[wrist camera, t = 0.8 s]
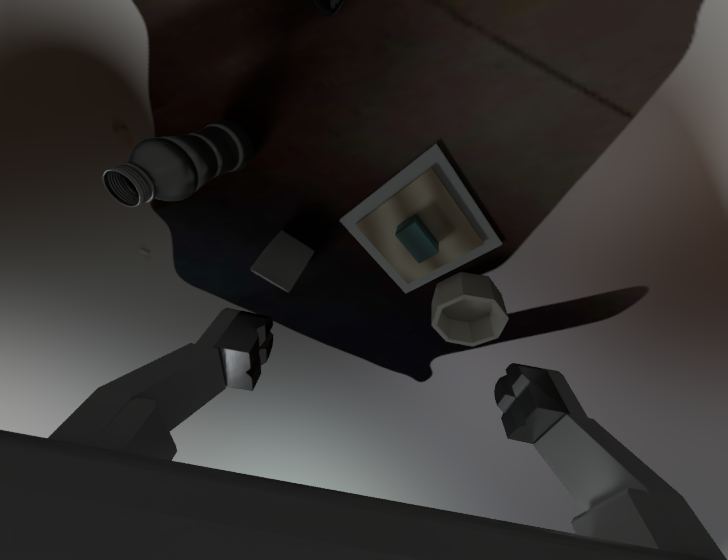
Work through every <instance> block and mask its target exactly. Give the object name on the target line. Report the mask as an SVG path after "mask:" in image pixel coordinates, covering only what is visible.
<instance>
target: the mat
mask: <svg viewBox="0 0 728 560" xmlns="http://www.w3.org/2000/svg"><path fill="white" fill-rule="evenodd" d="M430 167H432V168H433V169H434V171H435V172H436V174H437V175H438V177H439V178H440V179H441V181H442V182H443V184H444V185H445V187H446V188H447V190H448V191H449V193H450V194H451V195H452V197H453V198H454V200H455V201H456V203H457V204H458V206H459V207H460V208H461V210H462V211H463V213H464V214H465V216H466V217H467V219H468V220H469V222H470V223H471V224H472V226H473V227H474V229H475V230H476V232H477V233H478V235H479V236H480V237H481V239H482V240H483V242H484V244H483V245H481V246H480V247H478V248H476V249H474V250H472V251H470V252H468V253H466V254H464V255H462V256H461V257H459V258H457V259H455V260H453V261H451V262H449V263H447V264H445V265H443V266H441V267H440V268H438V269H436V270H434V271H432V272H430V273H428V274H426V275H424V276H422V277H421V278H419V279H417V280H415V281H413V282H411V283H409V284H407V283H406V282H405V280H404V279H403V278H402V277H401V276H400V275H399V274H398V273H397V271H396V270H395V269H394V268H393V267H392V266H391V265H390V264H389V262H388V261H387V260H386V259H385V258H384V257H383V256H382V255H381V253H380V252H379V251H378V250H377V249H376V248H375V247H374V246H373V245H372V243H371V242H370V241H369V240H368V239H367V238H366V237H365V236H364V234H363V233H362V232H361V231H360V230H359V229H358V228H357V227H356V223H357V222H358V221H360V220H361V219H362V218H364V217H365V216H366V215H368V214H369V213H370V212H372V211H373V210H374V209H376V208H377V207H378V206H380V205H381V204H382V203H384V202H385V201H386V200H388V199H389V198H390V197H392V196H393V195H394V194H396V193H397V192H398V191H400V190H401V189H402V188H404V187H405V186H406V185H408V184H409V183H410V182H412V181H413V180H414V179H416V178H417V177H418V176H420V175H421V174H422V173H424V172H425V171H426V170H428V169H429V168H430ZM339 221H340V222H341V223H342V224H343V225H344V226H345V227H346V228H347V229H348V231H349V232H350V233H351V234H352V235H353V236H354V237H355V238H356V239H357V240H358V242H359V243H360V244H361V245H362V246H363V247H364V248H365V249H366V250H367V251H368V253H369V254H370V255H371V256H372V257H373V258H374V259H375V260H376V261H377V262H378V264H379V265H380V266H381V267H382V268H383V269H384V270H385V271H386V272H387V273H388V275H389V276H390V277H391V278H392V279H393V280H394V281H395V282H396V283H397V284H398V286H399V287H400V288H401V289H402V290H403V291H404V292H405V293H407V292H409V291H411V290H413V289H415V288H417V287H419V286H421V285H423V284H425V283H427V282H429V281H431V280H433V279H435V278H437V277H439V276H441V275H443V274H445V273H447V272H449V271H451V270H453V269H455V268H457V267H459V266H461V265H463V264H465V263H467V262H469V261H471V260H473V259H475V258H477V257H479V256H481V255H482V254H484V253H486V252H488V251H490V250H492V249H494V248H496V247H498V246H500V245H502V242H501V240H500V239H499V237H498V236H497V234H496V233H495V231H494V230H493V228H492V227H491V225H490V224H489V222H488V221H487V219H486V218H485V216H484V215H483V213H482V212H481V210H480V209H479V207H478V206H477V204H476V202H475V201H474V199H473V198H472V196H471V195H470V193H469V192H468V190H467V189H466V187H465V186H464V184H463V183H462V181H461V180H460V178H459V177H458V175H457V174H456V172H455V171H454V169H453V167H452V166H451V164H450V163H449V161H448V160H447V158H446V157H445V155H444V154H443V152H442V151H441V149H440V148H439V146H438V145H437V143H435V144H434V145H433V146H431V147H430V148H429V149H428V150H426V151H425V152H424V153H423V154H421V155H420V156H419V157H417V158H416V159H415V160H414V161H412V162H411V163H410V164H409V165H407V166H406V167H405V168H404V169H402V170H401V171H400V172H399V173H397V174H396V175H395V176H393V177H392V178H391V179H390V180H388V181H387V182H386V183H385V184H383V185H382V186H381V187H380V188H378V189H377V190H376V191H375V192H373V193H372V194H371V195H370V196H368V197H367V198H366V199H364V200H363V201H362V202H361V203H359V204H358V205H357V206H356V207H354V208H353V209H352V210H351V211H349V212H348V213H347V214H346V215H344V216H343V217H342V218H341V219H340V220H339Z"/></svg>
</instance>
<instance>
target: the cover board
mask: <svg viewBox="0 0 728 560" xmlns="http://www.w3.org/2000/svg"><path fill="white" fill-rule="evenodd" d="M356 227H357V228H358V229H359V230H360V231H361V232H362V233H363V234H364V236H365V237H366V238H367V239H368V240H369V241H370V242H371V243H372V245H373V246H374V247H375V248H376V249H377V250H378V251H379V252H380V253H381V255H382V256H383V257H384V258H385V259H386V260H387V261H388V262H389V264H390V265H391V266H392V267H393V268H394V269H395V270H396V271H397V273H398V274H399V275H400V276H401V277H402V278H403V279H404V280H405V282H406V283H407V284H409V283H411V282H413V281H415V280H417V279H419V278H421V277H422V276H424V275H426V274H428V273H430V272H432V271H434V270H436V269H438V268H440V267H441V266H443V265H445V264H447V263H449V262H451V261H453V260H455V259H457V258H459V257H461V256H462V255H464V254H466V253H468V252H470V251H472V250H474V249H476V248H478V247H480V246H481V245H483V244H484V242H483V240H482V239H481V237H480V236H479V235H478V233H477V232H476V230H475V229H474V227H473V226H472V224H471V223H470V222H469V220H468V219H467V217H466V216H465V214H464V213H463V211H462V210H461V208H460V207H459V206H458V204H457V203H456V201H455V200H454V198H453V197H452V195H451V194H450V193H449V191H448V190H447V188H446V187H445V185H444V184H443V182H442V181H441V179H440V178H439V177H438V175H437V174H436V172H435V171H434V169H433V168H432V167H430V168H429V169H428V170H426V171H425V172H424V173H422V174H421V175H420V176H418V177H417V178H416V179H414V180H413V181H412V182H410V183H409V184H408V185H406V186H405V187H404V188H402V189H401V190H400V191H398V192H397V193H396V194H394V195H393V196H392V197H390V198H389V199H388V200H386V201H385V202H384V203H382V204H381V205H380V206H378V207H377V208H376V209H374V210H373V211H372V212H370V213H369V214H368V215H366V216H365V217H364V218H362V219H361V220H360V221H358V222H357V223H356Z"/></svg>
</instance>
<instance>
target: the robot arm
mask: <svg viewBox="0 0 728 560" xmlns="http://www.w3.org/2000/svg"><path fill="white" fill-rule="evenodd" d="M272 326H273V319H272V318H271V317H269V316H264V315H259V314H255V313H250V312H245V311H239V310H235V309H230V308H225V309H223V310H222V311H221V312H220V313H219V315H218V316H217V317H216V319H215V320H214V321H213V322H212V324H211V325H210V326H209V327H208V329H207V330H206V331H205V333H204V334H203V335H202V336H201V337H200V339H199V340H198V341H197V343H196V344H192V343H190V344H188V345H186V346H184V347H182V348H180V349H178V350H175V351H173V352H172V353H169V354H167V355H165V356H163V357H161V358H159V359H157V360H155V361H153V362H151V363H149V364H147V365H144V366H142V367H140V368H138V369H136V370H134V371H132V372H130V373H128V374H126V375H124V376H122V377H120V378H118V379H116V380H114V381H111V382H109V383H107V384H105V385H103V386H101V387H99V388H98V389H96V391H94V393H92V394H91V396H90V397H89V398H87V399H86V400H85V402H83V403H82V404H81V405H80V406H79V408H77V409H76V410H75V412H74V413H73V414H71V416H69V417H68V419H66V421H65V422H63V424H61V425H60V426H59V427H58V428H57V430H55V431H54V432H53V434H51V435H50V437H49V438H42V437H37V436H31V435H26V434H20V433H14V432H9V431H4V430H0V560H727V559H726V558H725V556H724V555H723V554H722V552H721V551H720V549H719V548H718V546H717V545H716V543H715V542H714V541H713V539H712V538H711V536H710V535H709V534H708V532H707V531H706V529H705V528H704V526H703V525H702V523H701V522H700V521H699V519H698V518H697V516H696V515H695V513H694V512H693V511H692V509H691V508H690V506H689V505H688V504H687V502H686V501H685V499H684V498H683V497H682V496H681V495H680V494H679V493H678V492H677V491H676V490H674V489H673V488H672V487H671V486H670V485H669V484H668V483H666V482H665V481H664V480H663V479H662V478H661V477H659V476H658V475H657V474H656V473H655V472H654V471H652V470H651V469H650V468H649V467H648V466H647V465H645V464H644V463H643V462H642V461H641V460H640V459H639V458H637V457H636V456H635V455H634V454H633V453H632V452H630V451H629V450H628V449H627V448H626V447H624V445H622V444H621V443H620V442H619V441H618V440H617V439H615V438H614V437H613V436H612V435H611V434H610V433H609V432H607V431H606V430H605V429H604V428H603V427H601V426H600V425H599V424H598V423H597V422H596V421H595V420H594V419H590V418H588V417H587V415H586V413H585V412H584V410H583V408H582V407H581V405H580V403H579V402H578V400H577V398H576V396H575V395H574V393H573V391H572V390H571V388H570V386H569V384H568V383H567V381H566V379H565V378H564V376H563V375H562V374H561V373H560V372H559V371H554V370H548V369H542V368H538V367H532V366H527V365H521V364H516V363H512V364H510V365H509V366H508V367H507V369H506V373H507V375H505V376H503V377H501V378H499V380H498V381H497V383H496V385H495V391H494V393H495V400H496V403H497V406H498V407H499V408H500V409H501V410H502V411H503V415H502V418H501V419H502V422H503V425H504V428H505V432H506V435H507V438H508V439H513V440H517V441H522V442H527V443H531V444H534V445H533V446H534V447H535V448H536V449H537V451H538V452H539V453H540V455H541V456H542V457H543V459H544V460H545V461H546V462H547V464H548V465H549V466H550V468H551V469H552V470H553V471H554V473H555V474H556V475H557V477H558V478H559V479H560V481H561V482H562V483H563V484H564V486H565V487H566V488H567V490H568V491H569V492H570V494H571V495H572V496H573V497H574V499H575V500H576V501H577V502H578V504H579V505H580V506H581V508H582V509H583V510H584V513H582V514H580V515H578V516H577V517H575V518H573V520H572V522H571V523H572V525H573V528H574V530H575V533H576V534H573V533H567V532H562V531H556V530H551V529H545V528H540V527H534V526H528V525H523V524H518V523H512V522H506V521H501V520H496V519H490V518H485V517H479V516H474V515H468V514H463V513H457V512H451V511H446V510H440V509H435V508H429V507H424V506H418V505H413V504H407V503H402V502H396V501H390V500H385V499H380V498H374V497H368V496H363V495H358V494H352V493H347V492H341V491H336V490H330V489H324V488H319V487H314V486H308V485H302V484H297V483H291V482H286V481H280V480H275V479H268V478H264V477H258V476H253V475H247V474H241V473H236V472H231V471H225V470H219V469H213V468H208V467H203V466H197V465H191V464H186V463H181V462H175V461H172V459H173V457H174V455H175V454H176V452H177V449H176V445H175V443H174V441H173V439H172V436H171V435H170V431H171V430H172V429H173V428H175V427H176V426H177V425H179V424H180V423H181V422H183V421H184V420H185V419H187V418H188V417H189V416H191V415H192V414H193V413H194V412H196V411H197V410H198V409H200V408H201V407H202V406H204V405H205V404H206V403H207V402H209V401H210V400H211V399H213V398H214V397H215V396H216V395H218V394H219V393H220V392H222V391H223V390H224V389H225V388H226V387H231V388H237V389H244V390H251V391H253V389H254V387H255V385H256V383H257V381H258V379H259V377H260V374H261V365H263V364H264V363H266V362H267V360H268V358H269V355H270V352H271V349H272V345H273V334H272V333H271V332H270V330H271V328H272Z"/></svg>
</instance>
